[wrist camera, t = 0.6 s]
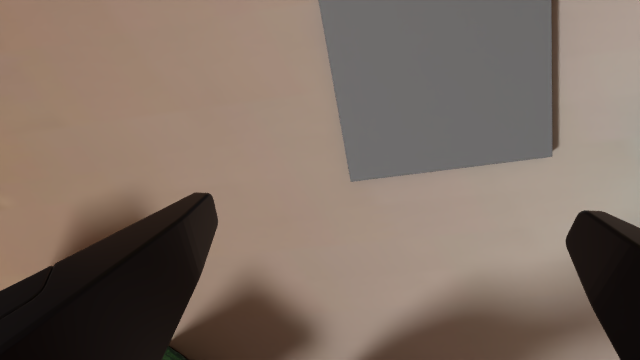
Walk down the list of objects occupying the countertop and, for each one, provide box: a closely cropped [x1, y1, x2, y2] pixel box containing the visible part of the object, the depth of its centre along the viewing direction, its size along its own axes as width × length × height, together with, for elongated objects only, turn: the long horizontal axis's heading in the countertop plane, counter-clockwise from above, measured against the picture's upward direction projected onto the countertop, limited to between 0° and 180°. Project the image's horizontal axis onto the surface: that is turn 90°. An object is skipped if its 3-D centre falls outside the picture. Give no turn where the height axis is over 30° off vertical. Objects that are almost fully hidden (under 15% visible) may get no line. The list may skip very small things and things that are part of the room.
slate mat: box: [319, 0, 552, 182], centre depth 19 cm, size 12×12×1 cm
